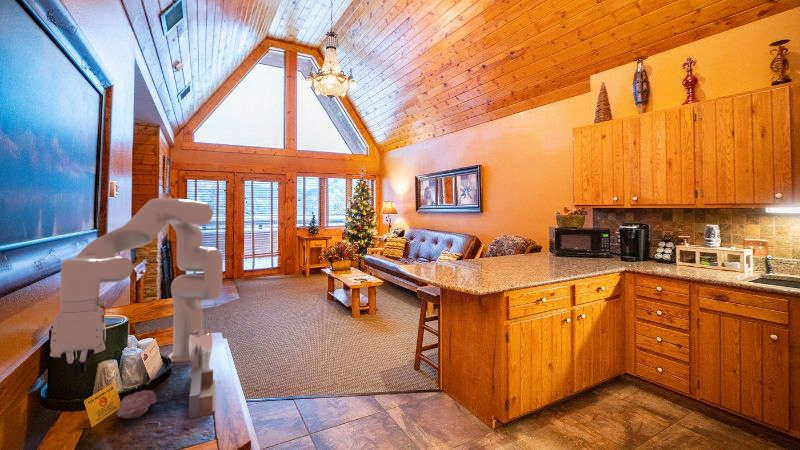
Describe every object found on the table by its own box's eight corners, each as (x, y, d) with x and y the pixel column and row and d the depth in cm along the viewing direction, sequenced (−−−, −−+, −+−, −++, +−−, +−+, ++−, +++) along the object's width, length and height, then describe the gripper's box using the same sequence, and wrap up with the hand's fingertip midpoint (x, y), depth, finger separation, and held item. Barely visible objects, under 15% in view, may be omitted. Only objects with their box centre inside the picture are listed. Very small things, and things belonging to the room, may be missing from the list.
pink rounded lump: (109, 428, 90) (109, 408, 90) (127, 401, 103) (127, 384, 103) (148, 421, 93) (148, 402, 93) (160, 396, 106) (160, 379, 106)
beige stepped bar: (193, 386, 112) (193, 367, 112) (215, 382, 115) (215, 364, 115) (188, 418, 95) (189, 396, 95) (214, 413, 98) (215, 391, 98)
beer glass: (198, 382, 115) (199, 337, 115) (183, 378, 117) (184, 334, 117) (216, 373, 121) (217, 330, 121) (201, 370, 124) (202, 328, 124)
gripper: (119, 300, 98) (117, 366, 98) (47, 304, 91) (44, 375, 91) (112, 306, 91) (110, 377, 91) (34, 311, 84) (31, 387, 84)
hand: (77, 376), depth 91 cm, fingers closed
